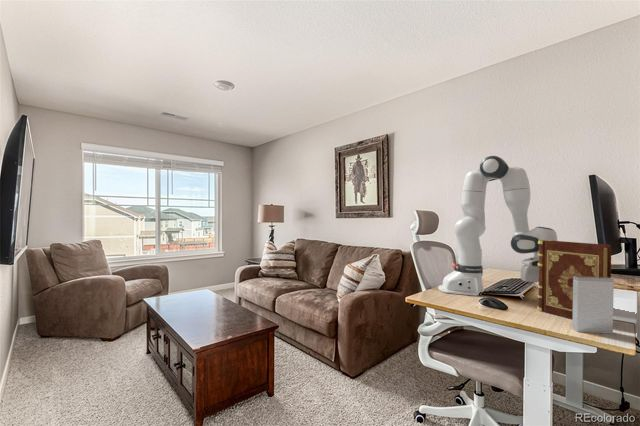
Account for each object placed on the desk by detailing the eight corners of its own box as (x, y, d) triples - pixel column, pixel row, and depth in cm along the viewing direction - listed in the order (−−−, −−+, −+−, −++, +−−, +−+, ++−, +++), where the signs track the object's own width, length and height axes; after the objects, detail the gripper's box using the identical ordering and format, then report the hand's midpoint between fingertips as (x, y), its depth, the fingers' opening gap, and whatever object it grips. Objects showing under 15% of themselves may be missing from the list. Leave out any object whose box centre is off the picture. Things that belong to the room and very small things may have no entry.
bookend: (577, 331, 106) (577, 277, 106) (572, 328, 108) (573, 275, 108) (612, 334, 104) (613, 278, 104) (607, 331, 106) (607, 277, 106)
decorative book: (533, 309, 130) (534, 240, 129) (543, 306, 134) (544, 239, 133) (601, 327, 110) (603, 245, 110) (610, 323, 114) (611, 244, 114)
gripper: (566, 261, 141) (566, 290, 140) (518, 260, 144) (519, 289, 144) (575, 263, 134) (576, 294, 134) (525, 262, 138) (525, 292, 138)
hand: (546, 291), depth 139 cm, fingers closed
